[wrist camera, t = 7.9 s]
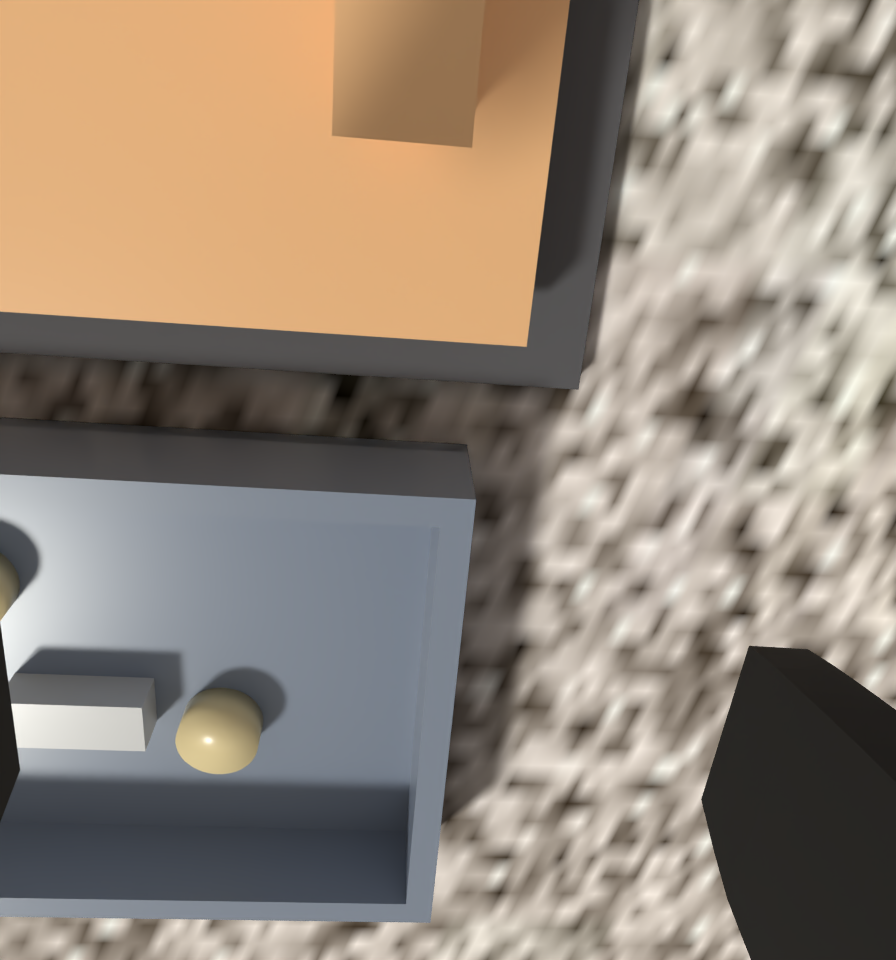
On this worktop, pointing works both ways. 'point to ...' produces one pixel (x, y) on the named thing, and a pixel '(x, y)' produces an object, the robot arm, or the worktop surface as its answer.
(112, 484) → the blue-grey tray
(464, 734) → the worktop surface
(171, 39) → the lid
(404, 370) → the mat
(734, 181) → the worktop surface
